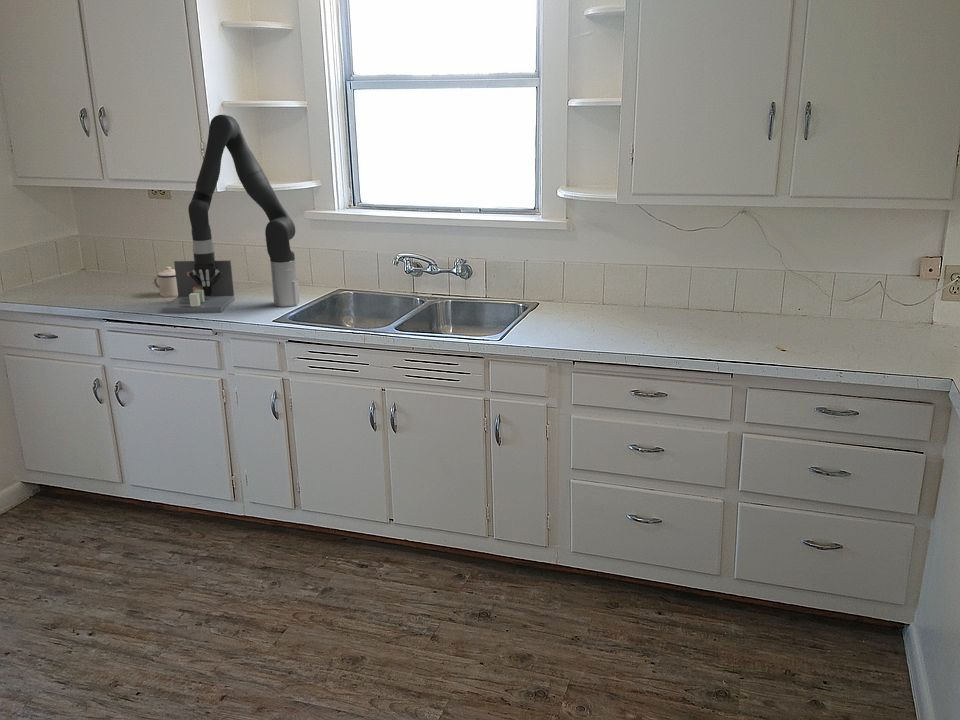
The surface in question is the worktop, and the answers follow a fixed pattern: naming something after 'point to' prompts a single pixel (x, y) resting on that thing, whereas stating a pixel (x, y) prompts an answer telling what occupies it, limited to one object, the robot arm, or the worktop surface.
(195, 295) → the cream slider
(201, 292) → the sage slider
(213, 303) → the switch unit
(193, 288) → the terracotta slider
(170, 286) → the teacup with lid
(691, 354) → the worktop surface
